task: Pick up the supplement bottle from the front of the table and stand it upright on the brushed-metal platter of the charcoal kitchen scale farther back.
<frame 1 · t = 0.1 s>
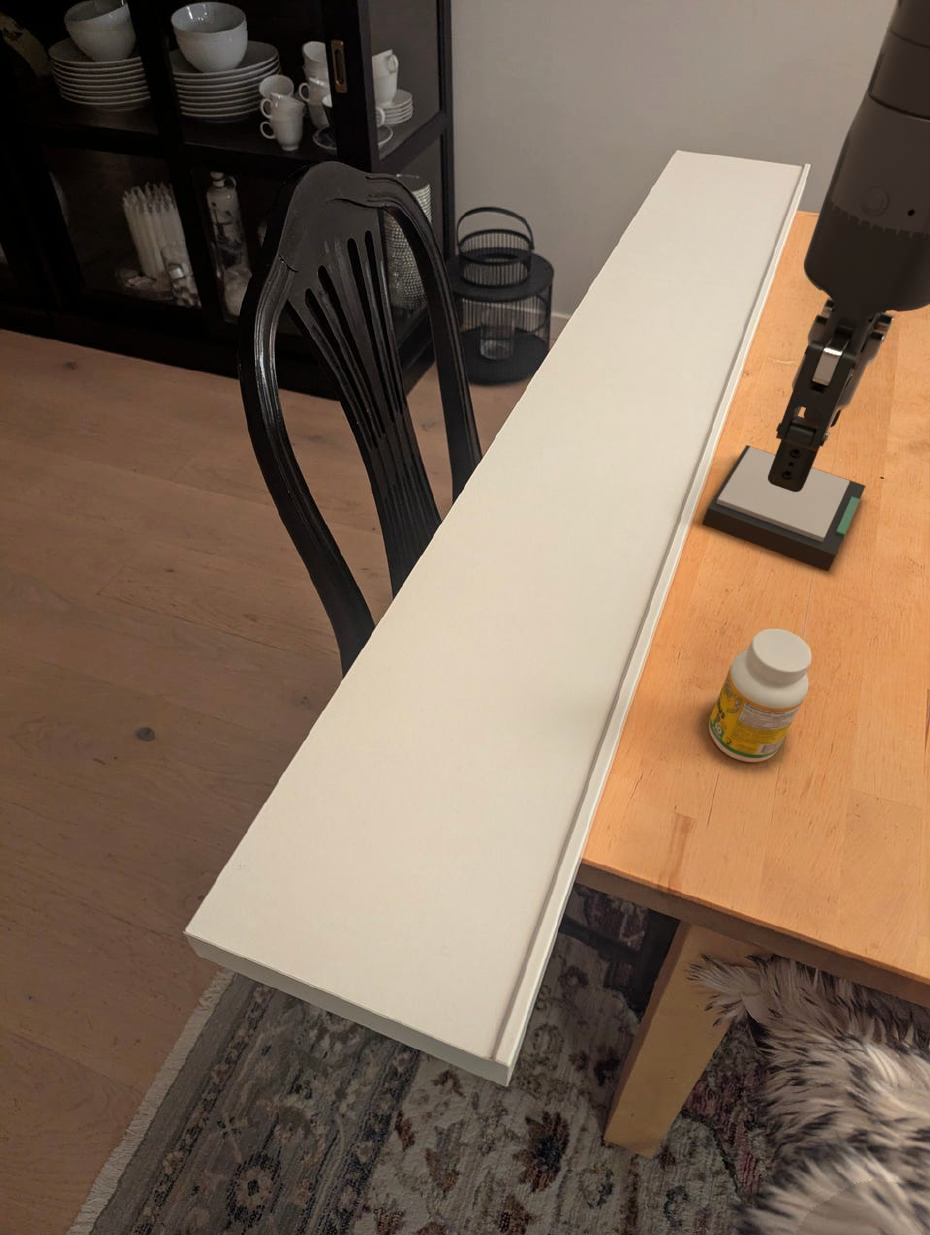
hand: (802, 452, 58), 20 cm above the table, tool pointing down, fingers open, 8 cm apart
scale: (781, 512, 85), on the table
supplement bottle: (742, 736, 67), on the table
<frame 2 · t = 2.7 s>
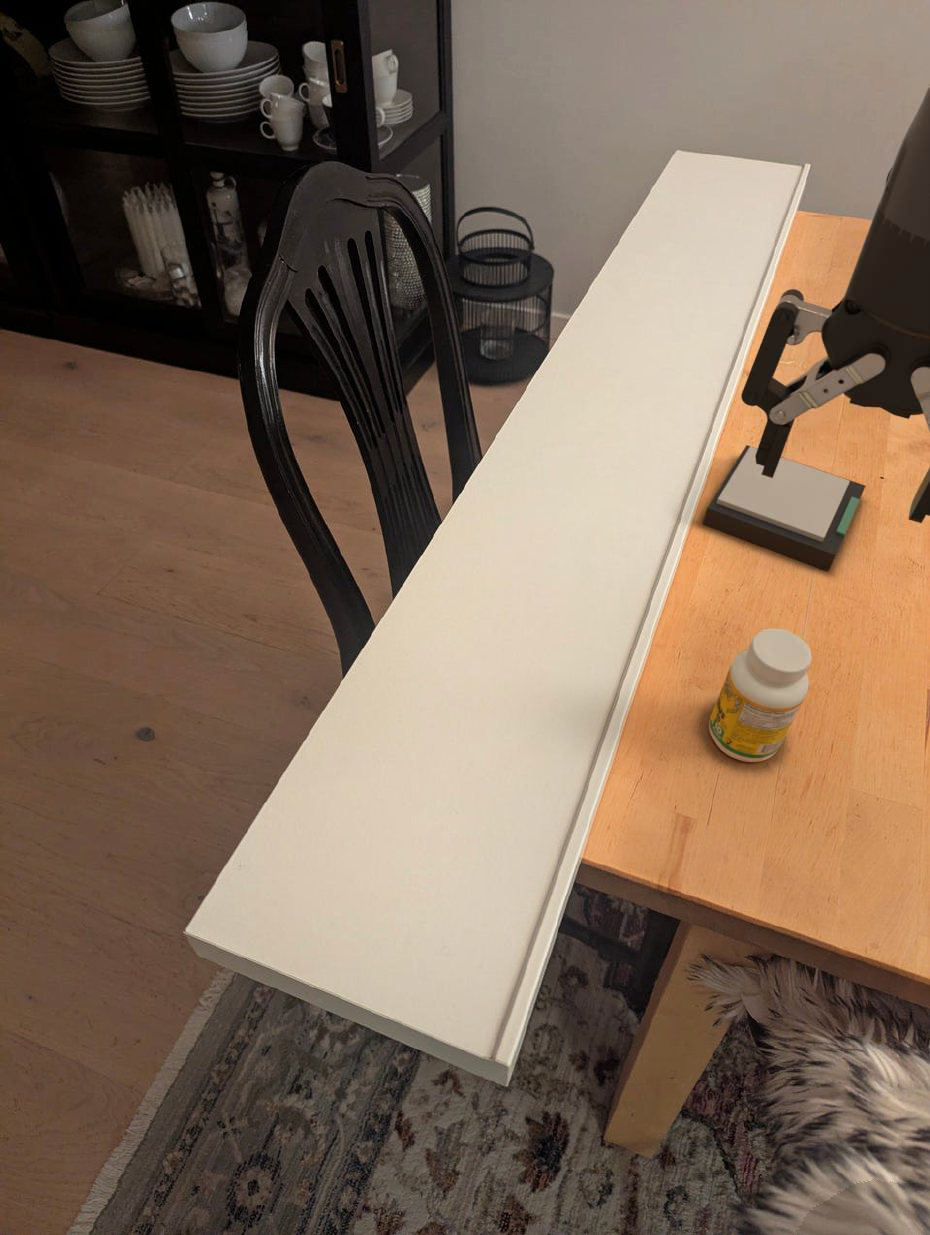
hand: (841, 491, 52), 21 cm above the table, tool pointing down, fingers open, 8 cm apart
nothing on the table moved.
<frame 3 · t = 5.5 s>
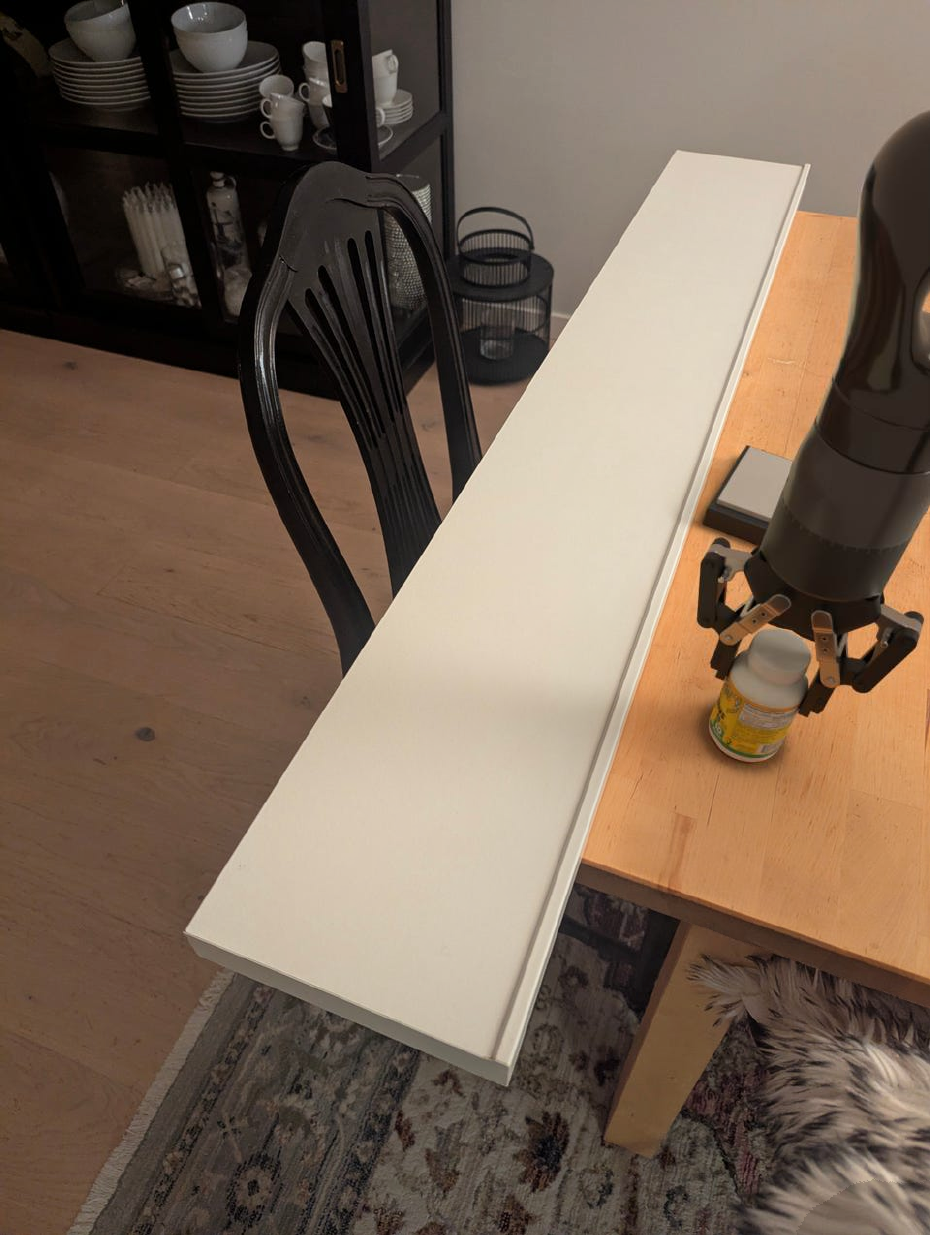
hand: (764, 688, 62), 5 cm above the table, tool pointing down, fingers closed on supplement bottle, 5 cm apart
supplement bottle: (742, 736, 67), on the table, touching gripper
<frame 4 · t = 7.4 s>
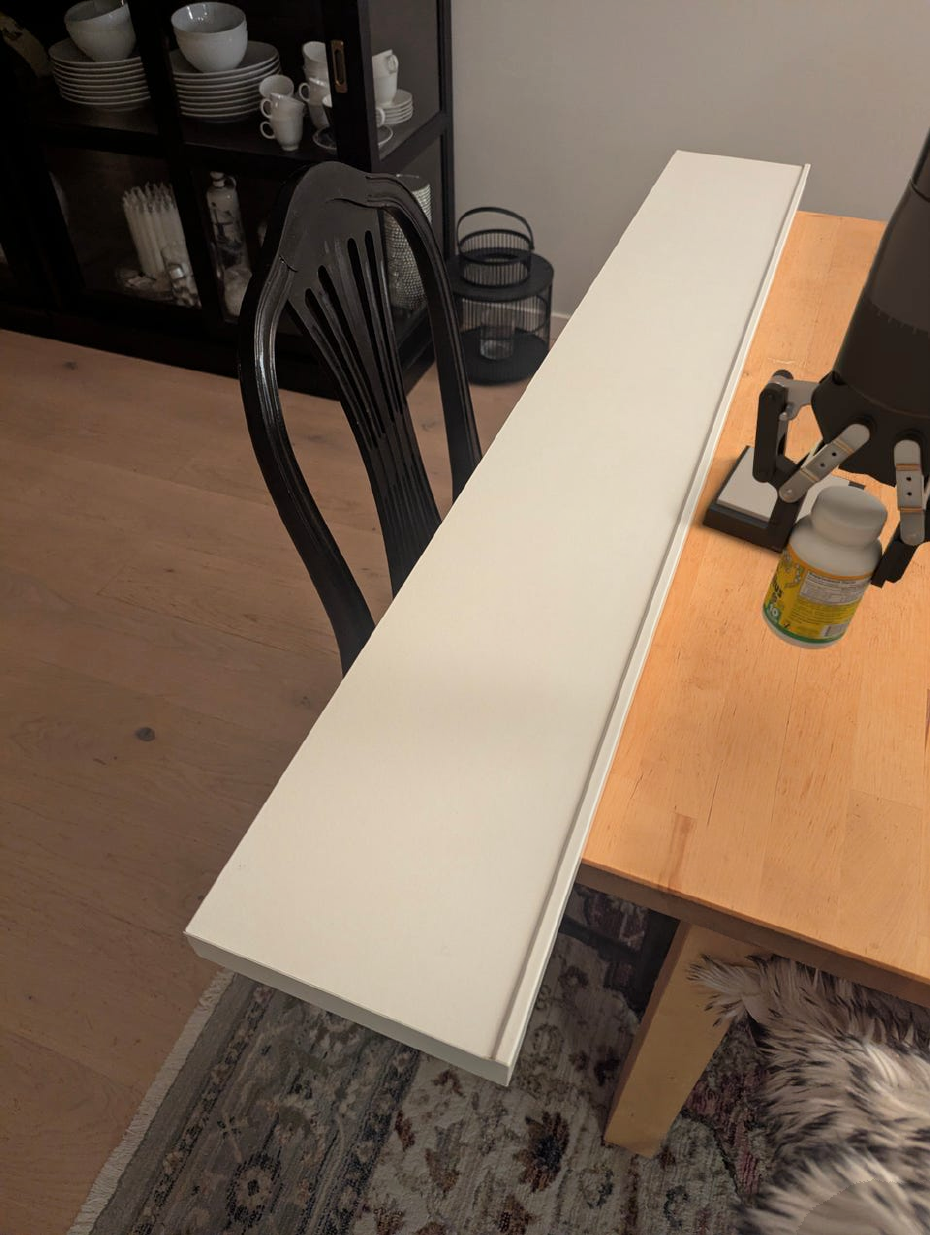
hand: (829, 559, 54), 18 cm above the table, tool pointing down, fingers closed on supplement bottle, 5 cm apart
supplement bottle: (800, 623, 58), point 12 cm above the table, touching gripper
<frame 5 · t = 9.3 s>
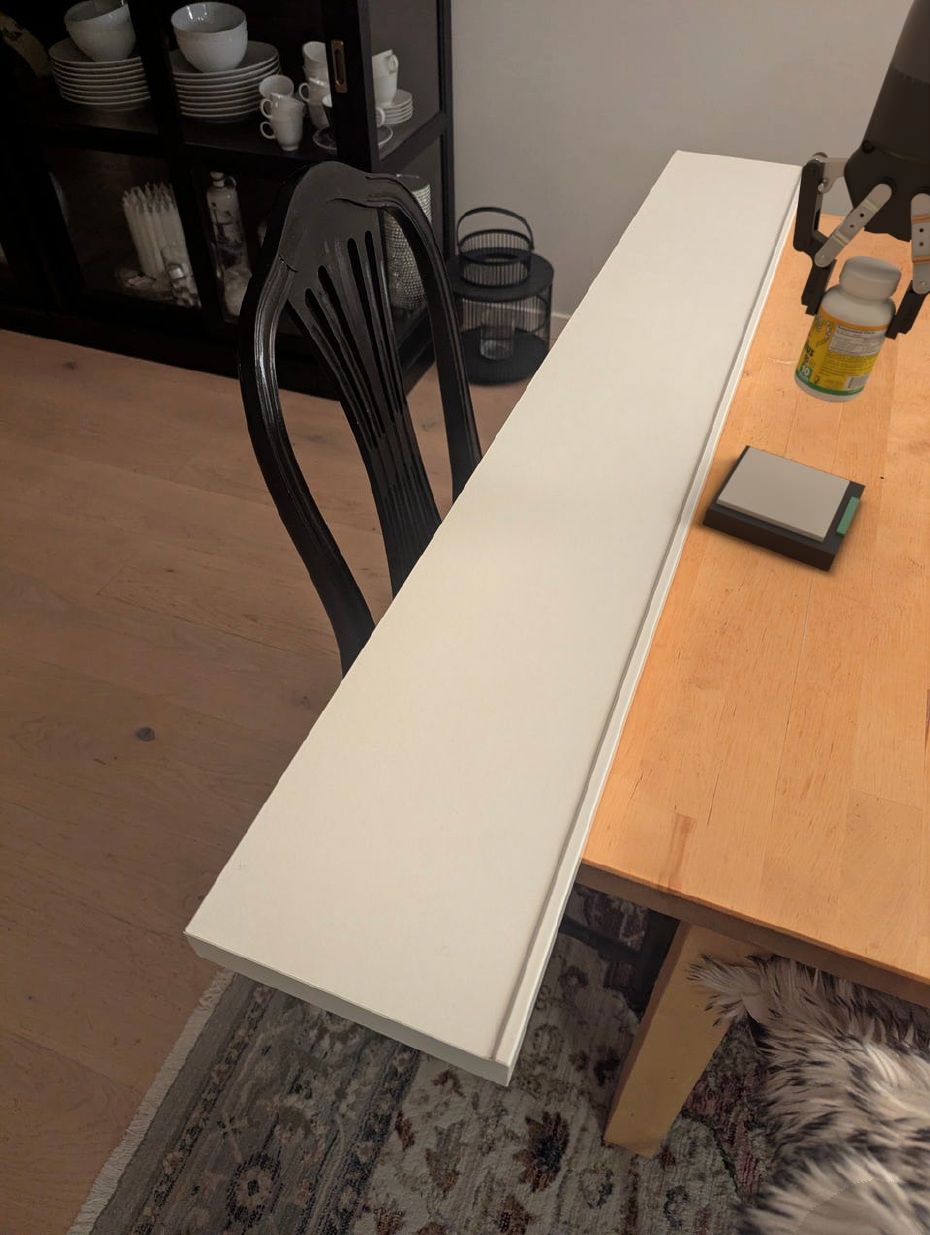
hand: (852, 322, 66), 22 cm above the table, tool pointing down, fingers closed on supplement bottle, 5 cm apart
supplement bottle: (825, 388, 70), point 16 cm above the table, touching gripper
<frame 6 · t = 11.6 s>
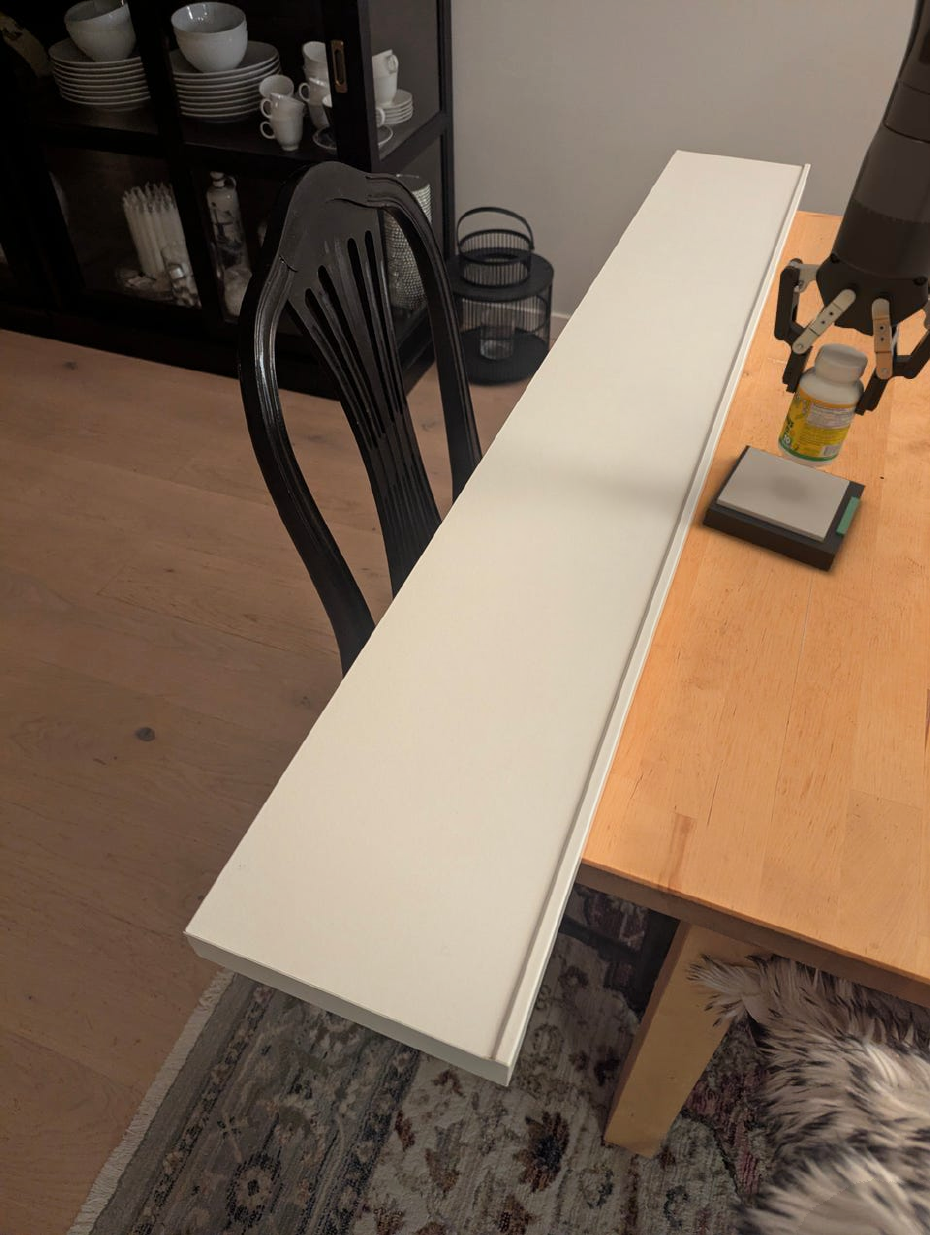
hand: (826, 399, 76), 13 cm above the table, tool pointing down, fingers closed on supplement bottle, 5 cm apart
supplement bottle: (805, 453, 80), point 7 cm above the table, touching gripper
when the fingers open (8 cm above the table, at t = 13.2 s): supplement bottle stays where it is, resting on scale.
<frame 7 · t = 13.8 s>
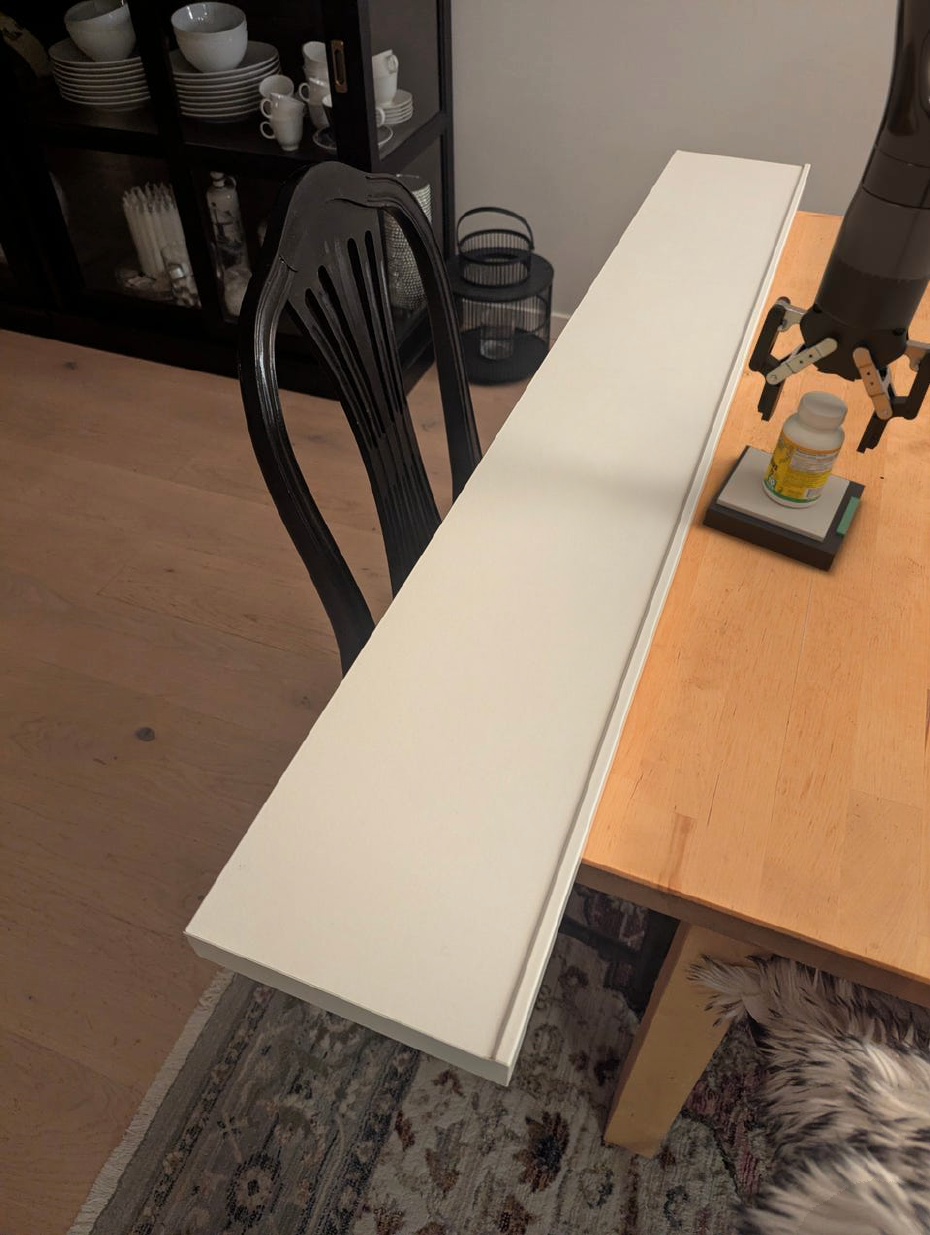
hand: (814, 432, 79), 9 cm above the table, tool pointing down, fingers open, 8 cm apart
supplement bottle: (789, 493, 83), point 2 cm above the table, touching scale
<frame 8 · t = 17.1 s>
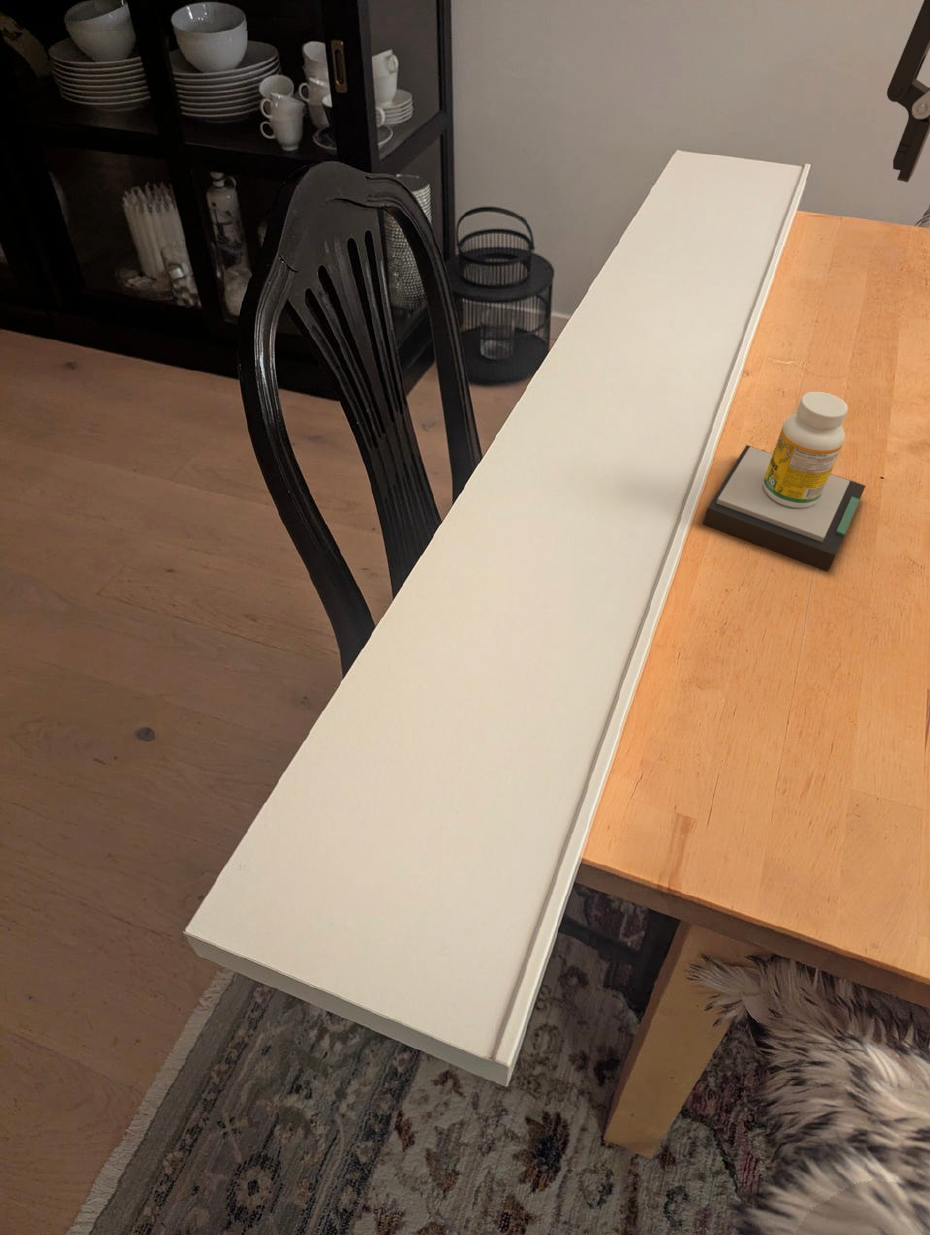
nothing on the table moved.
at the end: supplement bottle inside the target area on the scale (0.5 cm from its centre), point 2.4 cm above the scale's base; supplement bottle tilted 0°; the gripper is holding nothing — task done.
